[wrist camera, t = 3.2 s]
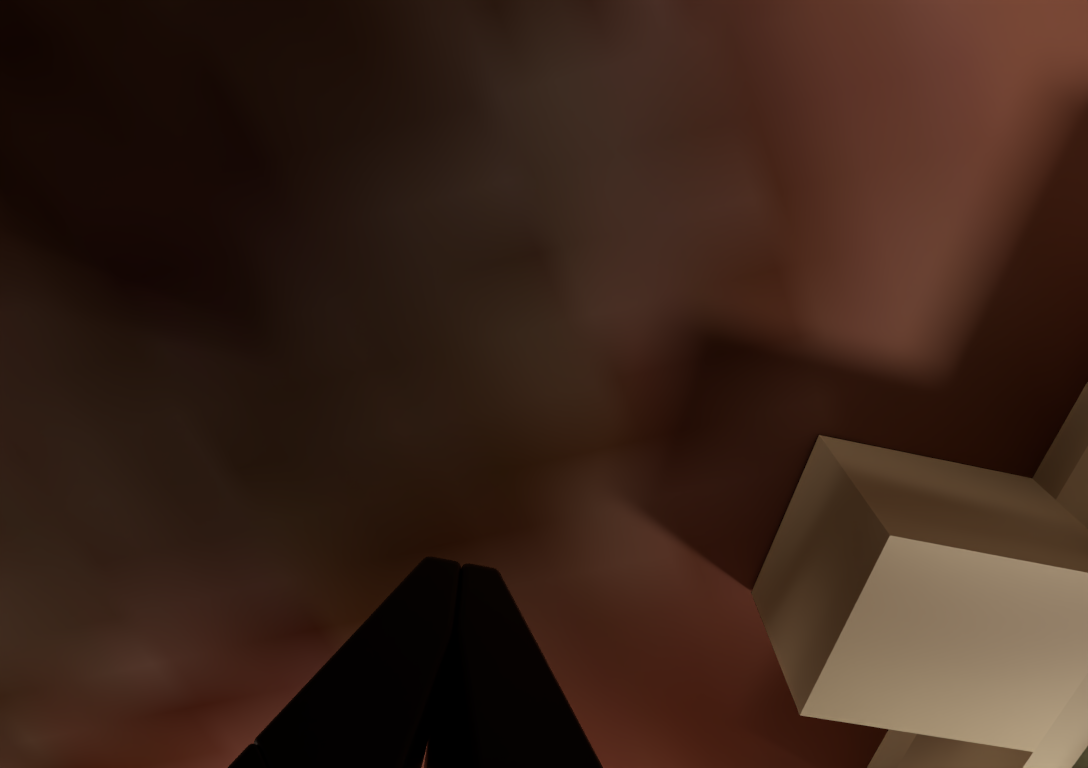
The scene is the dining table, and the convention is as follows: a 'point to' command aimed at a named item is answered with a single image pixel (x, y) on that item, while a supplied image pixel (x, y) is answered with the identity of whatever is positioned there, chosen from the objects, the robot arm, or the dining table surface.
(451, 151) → the dining table surface
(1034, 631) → the beige flat piece
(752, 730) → the dining table surface
